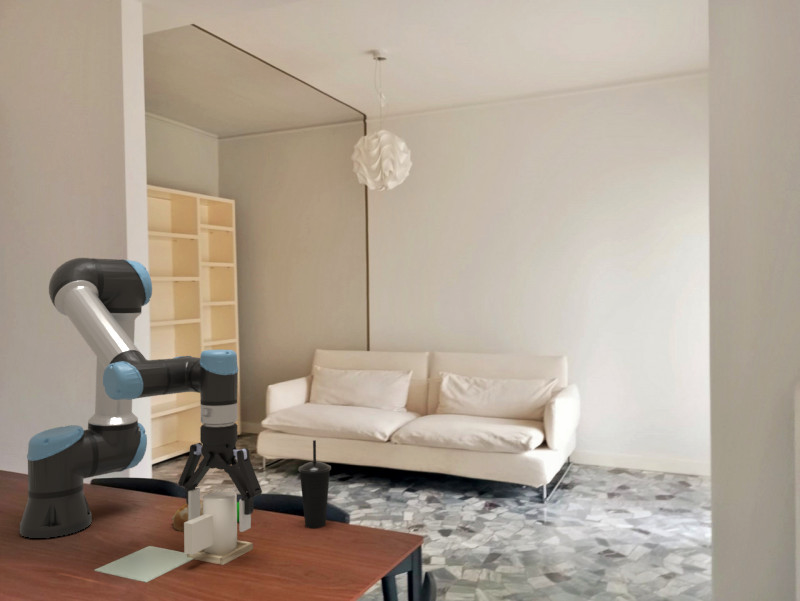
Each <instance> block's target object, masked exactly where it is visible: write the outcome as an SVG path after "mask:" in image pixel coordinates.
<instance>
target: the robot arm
mask: <svg viewBox="0 0 800 601" xmlns="http://www.w3.org/2000/svg"><path fill="white" fill-rule="evenodd" d="M48 283H49V284H48V294H49V299H50V300H51V303H52V304H53V307H55V309H56V310H57V312H59V313H60V314H61V315H63V316H67V317H68V318H69V320H70V322H71V323H72V324H73V326H74V327H75V328H76V331H78V333H79V335H81V337H82V338H83V340H84V341H85V343H86V344H87V346H88V347H89V348H90V350H91V351H92V353H93V354H94V355H95V357H96V369H95V370H96V371H95V372H96V373H95V375H96V376H95V401H94V402H95V403H94V404H95V406H94V408H95V409H94V414H93V415H91V417H90V418H89V419H88V420H87V429H84V428H83V426H80V425H65V426H58V427H54V428H49V429H46V430H43V431H40V432H38V433H36V434H34V435H33V436H32V437H31V438H30V439H29V441H28V447H27V454H26V459H27V490H28V491H27V497H28V498H27V503H26V505H25V507H24V508H25V509H24V511H23V514H22V517H21V518H22V519H21V521H20V522H19V535H20V534H21V535H22V536H25V537H29V538H28V539H30V538H46V539H51V538H50V537H55V538H58V537H57V536H61V537H64V536H63V535H65V536H68V534H70V535H72V534H71V533H73V534H76V533H78V531H79V532H81V531H80V530H82V529H84V530H85V528H86V527H88V526H89V525H90V524H91V522H92V523H93V520H92V516H93V514H92V511H91V509H90V507H89V503H88V501H87V498H86V495H85V493H84V492H85V491H84V480H85V479H89V478H93V477H97V476H98V477H99V476H102V475H103V476H104V475H107V474H111V473H119V472H124V471H125V470H130V469H133V468H135V467H137V466H138V465H139V463H141V462H142V460H143V459H144V457H145V455H146V451H147V446H148V437H147V434H146V429H145V427H144V425H143V424H142V423H140V422H138V421H139V418H138V416H136V415H135V414H134V412H133V400H136V399H142V398H150V397H156V396H165V395H173V394H181V393H198V394H200V402H199V403H200V423H201V424H202V425H201V426H200V427H199V428H200V431H199V432H200V434H199V436H200V438H199V439H200V442H197V443H194V444H191V445H189V455H188V457H187V460H186V462H185V465H184V466H183V469H182V472H181V474H180V477H179V480H178V486H179V487H183V488H184V489H185V493H186V494H185V497H186V498H185V499H186V500H185V502H186V503H187V505H188V521H189V520H192V519H194V518H197V517H199V516H200V500H201V487H200V488H199V485H200V483H201V482H202V480H203V478H204V477H205V476H206V474H207V473H208V471H209V470H210V469H218V470H223V472H225V473H226V474H227V475H228V476H229V478H230V479H231V481H232V483H233V485H235V487H236V489H237V492H239V494H240V495H241V498H239V501H238V502H239V522H238V524H239V525H238V526H239V527H238V528H239V532H242V533H243V532H245V531H248V530H249V529H251V527H252V525H251V524H252V523H251V522H252V514H253V513H254V498H256V497H257V496H260V495H262V493H263V490H262V488H261V485H260V483H259V480H258V477H257V475H256V472H255V470H254V466H253V464H252V462H251V459H250V450H249V448H248V447H245V448H242V449H238V448H237V447H236V444H237V441H238V430H239V429H238V426H239V425H238V424H237V423H236V422H238V420H239V418H238V416H239V415H238V413H239V411H238V407H239V406H238V387H239V385H238V383H239V382H238V379H239V378H238V376H239V375H238V373H239V372H238V371H239V366H238V355H237V352H236V351H235V350H233V349H205V350H203V351H201V353H200V357H198V356H197V357H196V356H195V357H194V356H191V355H183V356H182V355H181V356H175V357H173V358H161V359H159V358H158V359H146V357H145V355H143V353H142V352H141V351H140V349H139V348H138V347H137V346H136V345H135V329H136V328H135V326H136V325H135V324H136V319H137V318H138V317H140V315H141V314H142V309H143V308H142V307H144V306H146V305H147V304H148V303H149V302H150V301H151V298H152V294H153V282H152V278H151V275H150V273H149V271H148V269H147V268H146V267H145V266H144V264H142V263H141V262H139V261H136V260H129V259H116V258H115V259H112V258H110V259H109V258H92V257H91V258H89V257H76V258H73V259H70V260H68V261H65V262H64V263H62V264H61V265H59V266H58V267H57V268H55V271H54V272H53V274H52V276H51V278H50V280H49V282H48ZM201 456H203V458H202V457H201ZM201 458H202V460H200V459H201ZM91 525H92V524H91ZM91 525H90V526H91ZM90 526H89V527H90ZM89 527H88V528H89ZM86 529H87V528H86ZM82 531H83V530H82ZM75 532H76V533H75ZM21 535H20V536H21ZM22 536H21V537H22ZM25 537H24V538H25Z"/></svg>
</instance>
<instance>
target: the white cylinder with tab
mask: <svg viewBox="0 0 800 601" xmlns="http://www.w3.org/2000/svg"><path fill="white" fill-rule="evenodd" d="M237 496H238V495H237V492H236V491H234V490H233V491H231V490H218V491H212V492H211V491H210V492H208V493H206V494H203V496H202V501H203V515H201V516H199V517H197V518H194V519H192V520H189V521H187V522H185V523H184V531H183V532H184V535H183V539H184V540H183V542H184V547H183V550H184V551H183V552H184V553H185V554H190V555H193V554H195V553H197V552H199V551H201V550H203V549H204V553H206V554H211V555H217V556H222V557H223V556H225V555H227V554H229V553H231V552H232V551H234V550H236V549H237V540H238V522H237V502H238V500H237Z"/></svg>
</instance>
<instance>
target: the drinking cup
mask: <svg viewBox="0 0 800 601" xmlns="http://www.w3.org/2000/svg"><path fill="white" fill-rule="evenodd" d="M331 470H332V466H331V465H329V464H327V463H326V462H322V461H317V441H316V440H312V461H309V462H307V463H304V464H303V465H301V466H299V467H298V471H299V476H300V488H301V496H302V506H303V507H302V509H303V517H304V527H306V528H308V527H309V529H320V528H323V527H324V526H326V525H327V524H326V523H327V522H326V521H327V509H328V497H329V483H330V472H331Z"/></svg>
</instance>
